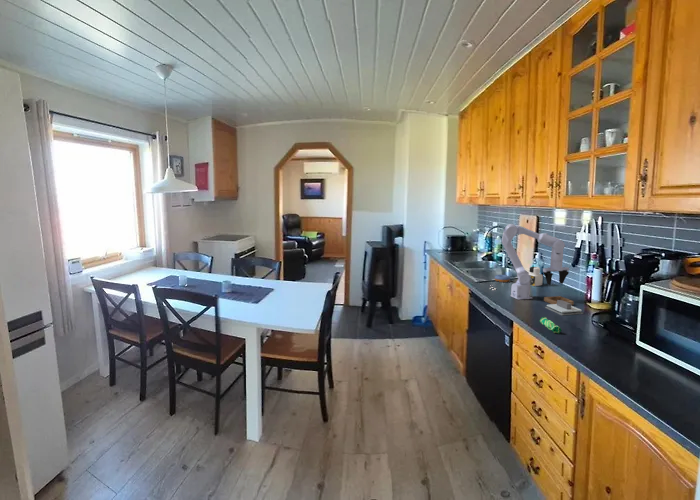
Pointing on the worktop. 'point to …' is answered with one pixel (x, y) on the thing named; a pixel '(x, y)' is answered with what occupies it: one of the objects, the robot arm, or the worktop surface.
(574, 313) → the mat
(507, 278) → the doughnut
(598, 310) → the worktop surface
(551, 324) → the candy
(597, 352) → the worktop surface
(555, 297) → the box
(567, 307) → the lid
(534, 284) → the medicine bottle
